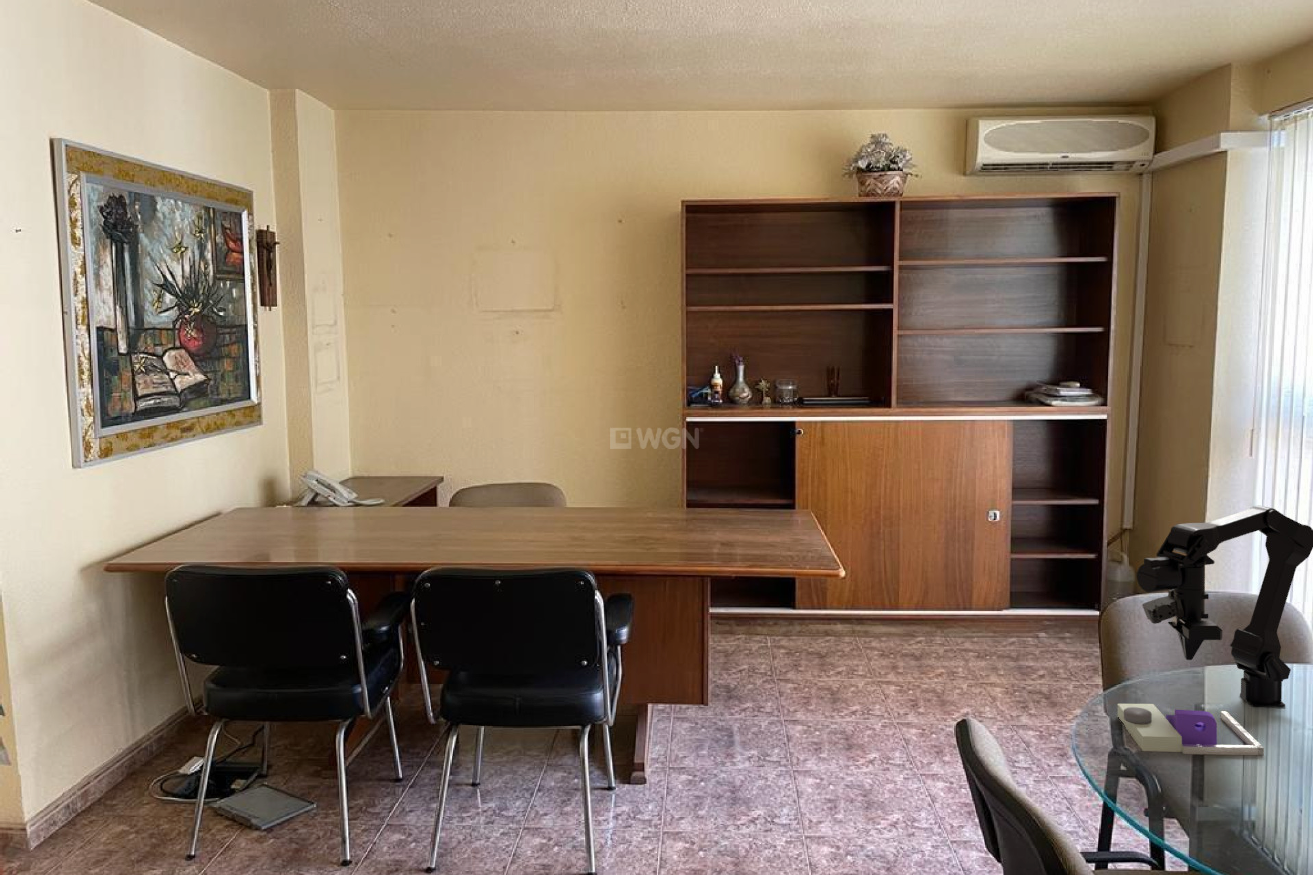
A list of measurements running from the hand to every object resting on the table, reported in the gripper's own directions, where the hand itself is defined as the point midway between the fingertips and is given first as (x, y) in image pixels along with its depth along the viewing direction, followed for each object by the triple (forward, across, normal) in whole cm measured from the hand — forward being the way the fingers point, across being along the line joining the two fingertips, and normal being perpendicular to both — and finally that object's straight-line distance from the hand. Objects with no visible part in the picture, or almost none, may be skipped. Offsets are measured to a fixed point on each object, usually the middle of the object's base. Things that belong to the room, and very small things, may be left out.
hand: (1188, 659), depth 199 cm
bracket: (+12, +10, -3) cm, 16 cm away
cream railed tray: (+12, +11, -4) cm, 16 cm away
